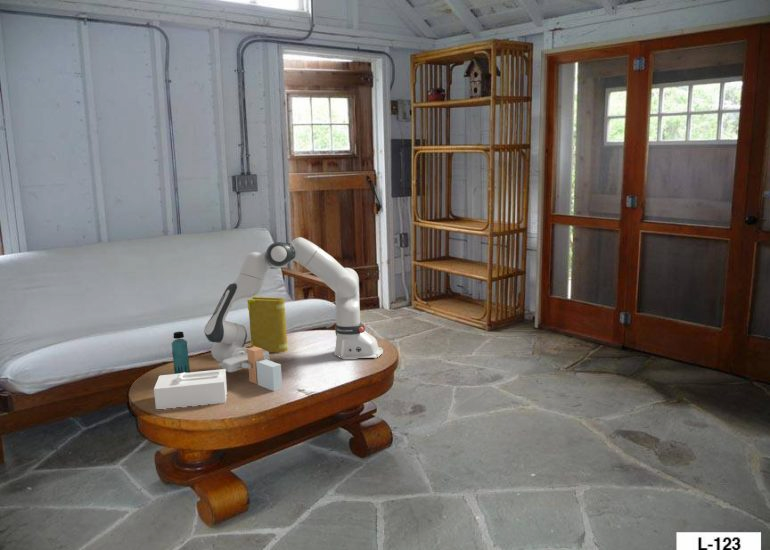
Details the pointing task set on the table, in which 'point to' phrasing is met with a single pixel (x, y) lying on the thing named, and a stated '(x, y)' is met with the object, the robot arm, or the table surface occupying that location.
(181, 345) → the beverage bottle
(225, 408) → the table surface
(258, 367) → the pale gray chunky brick
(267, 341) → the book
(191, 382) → the tissue box
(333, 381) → the table surface
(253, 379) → the block
